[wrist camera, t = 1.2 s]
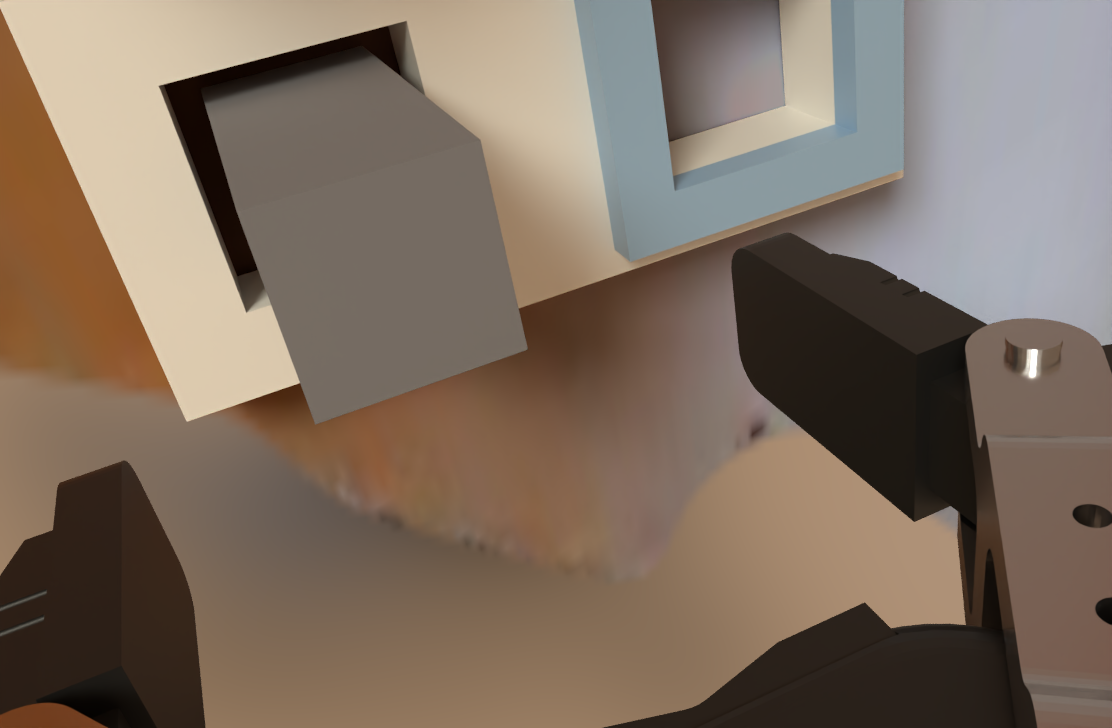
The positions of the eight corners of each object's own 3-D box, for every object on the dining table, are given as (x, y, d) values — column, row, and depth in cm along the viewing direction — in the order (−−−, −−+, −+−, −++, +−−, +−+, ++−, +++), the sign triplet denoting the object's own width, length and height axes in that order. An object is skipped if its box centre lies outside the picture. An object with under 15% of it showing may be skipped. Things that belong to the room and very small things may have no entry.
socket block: (841, -205, 26) (930, -214, 23) (851, 156, 31) (926, 186, 28) (10, -12, 21) (-9, 8, 18) (182, 377, 26) (188, 441, 23)
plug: (361, 45, 24) (480, 140, 16) (403, 196, 26) (527, 349, 18) (200, 88, 23) (236, 212, 15) (256, 241, 25) (314, 424, 17)
